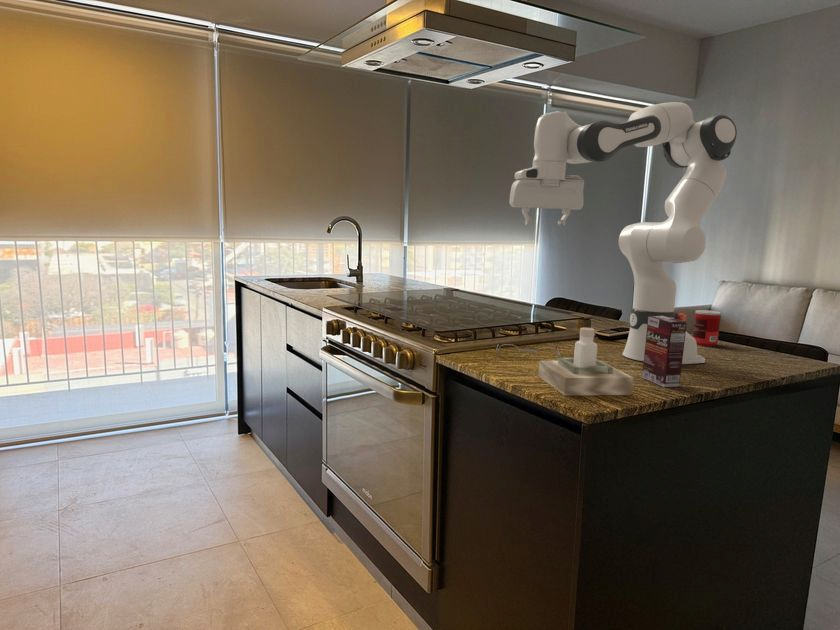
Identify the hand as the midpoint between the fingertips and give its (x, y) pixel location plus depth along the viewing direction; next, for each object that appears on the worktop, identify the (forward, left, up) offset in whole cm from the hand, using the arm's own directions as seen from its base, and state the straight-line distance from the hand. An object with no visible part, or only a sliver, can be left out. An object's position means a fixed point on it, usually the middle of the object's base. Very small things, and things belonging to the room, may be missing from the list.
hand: (544, 225), depth 159 cm
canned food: (-66, -19, -37) cm, 78 cm away
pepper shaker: (-1, +29, -33) cm, 44 cm away
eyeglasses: (0, -7, -38) cm, 38 cm away
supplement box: (-22, +27, -37) cm, 51 cm away
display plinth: (-1, +29, -37) cm, 47 cm away
